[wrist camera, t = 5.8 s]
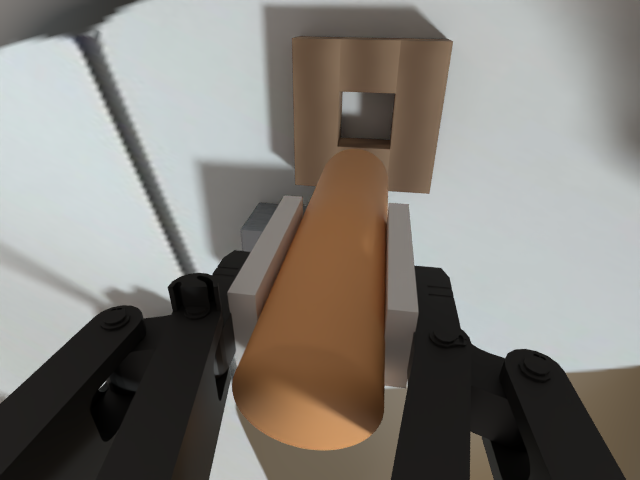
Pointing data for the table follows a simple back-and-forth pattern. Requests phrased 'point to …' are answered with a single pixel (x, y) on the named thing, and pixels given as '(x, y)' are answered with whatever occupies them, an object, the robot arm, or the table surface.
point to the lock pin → (325, 318)
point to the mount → (375, 77)
